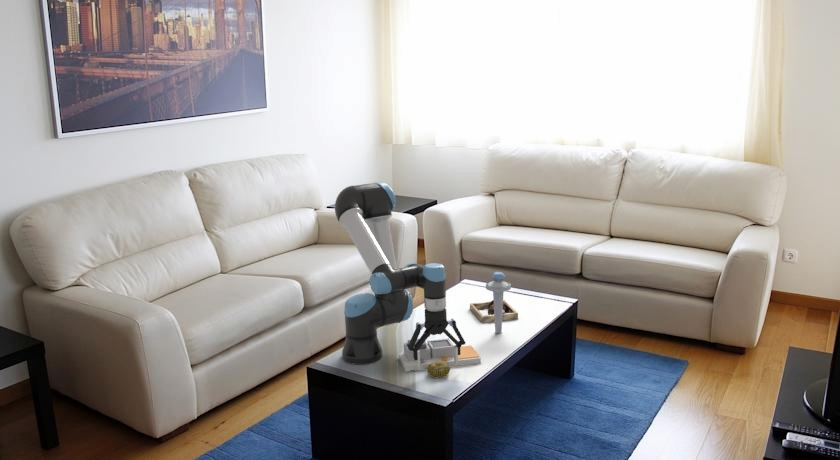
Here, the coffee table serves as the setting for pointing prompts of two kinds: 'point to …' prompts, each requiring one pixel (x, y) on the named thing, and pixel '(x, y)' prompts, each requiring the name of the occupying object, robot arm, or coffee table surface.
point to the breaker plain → (421, 346)
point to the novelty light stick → (498, 297)
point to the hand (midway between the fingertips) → (437, 366)
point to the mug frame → (489, 318)
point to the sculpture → (438, 369)
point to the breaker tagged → (440, 344)
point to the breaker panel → (438, 355)
